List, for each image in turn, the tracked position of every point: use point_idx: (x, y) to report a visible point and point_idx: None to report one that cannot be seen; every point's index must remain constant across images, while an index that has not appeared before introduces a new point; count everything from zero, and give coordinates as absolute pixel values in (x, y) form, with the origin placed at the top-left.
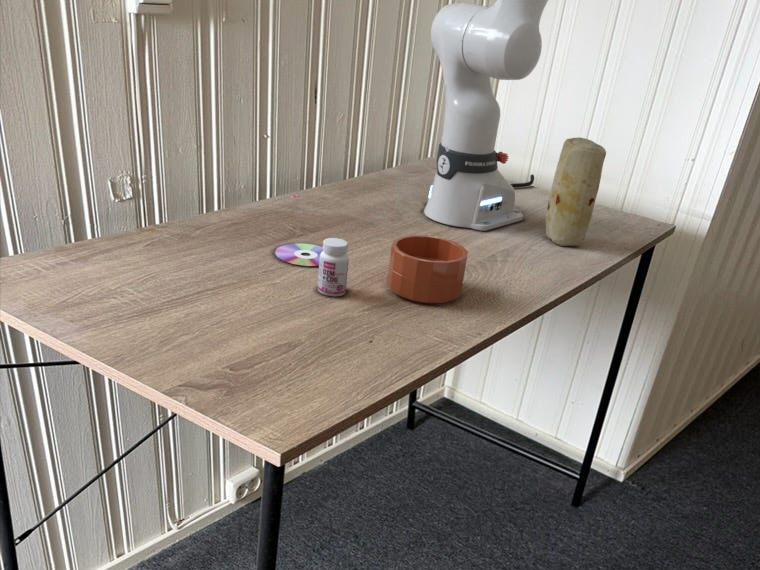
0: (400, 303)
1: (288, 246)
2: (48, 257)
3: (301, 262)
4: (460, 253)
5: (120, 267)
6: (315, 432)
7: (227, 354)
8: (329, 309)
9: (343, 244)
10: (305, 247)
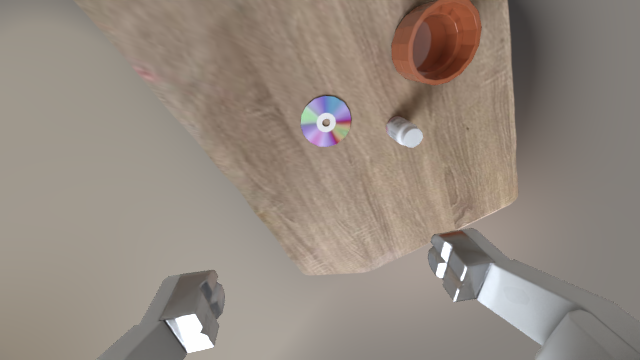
0: None
1: (306, 131)
2: (305, 262)
3: (342, 131)
4: (456, 4)
5: (325, 235)
6: (516, 184)
7: (440, 203)
8: None
9: (420, 133)
10: (311, 117)
